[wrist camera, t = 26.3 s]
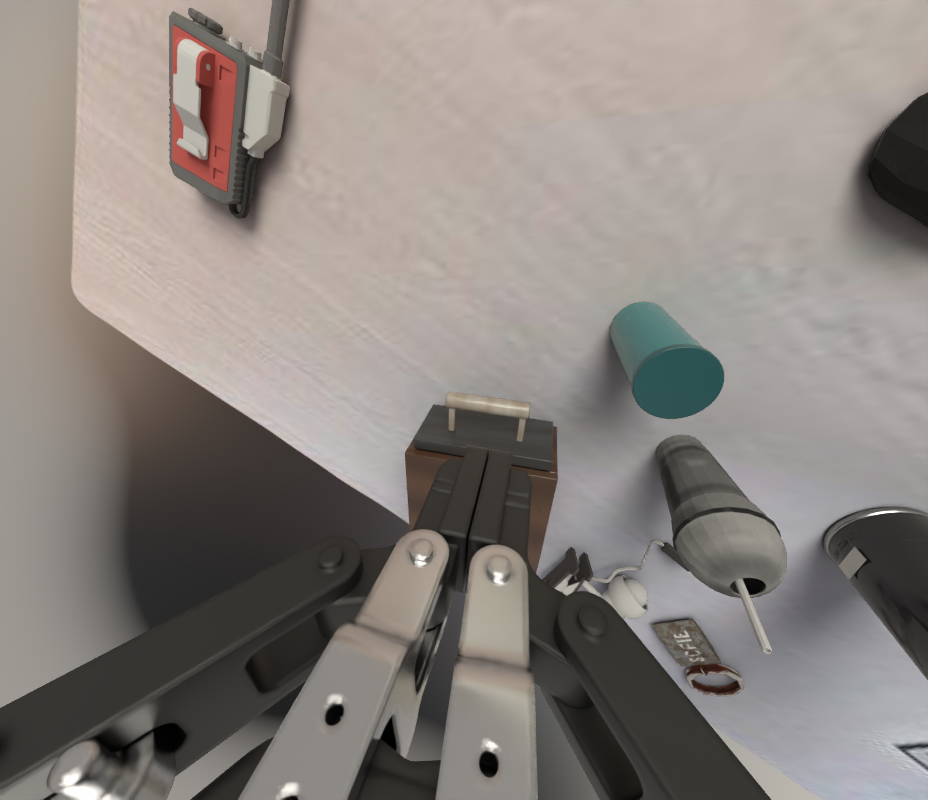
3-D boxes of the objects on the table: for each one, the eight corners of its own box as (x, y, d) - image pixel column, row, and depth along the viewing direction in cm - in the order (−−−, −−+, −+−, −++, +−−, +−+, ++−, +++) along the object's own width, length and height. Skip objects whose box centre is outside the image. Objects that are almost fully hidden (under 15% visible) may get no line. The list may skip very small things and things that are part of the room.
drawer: (433, 370, 38) (411, 401, 32) (559, 387, 36) (561, 423, 30) (434, 495, 47) (417, 536, 42) (534, 514, 45) (531, 561, 39)
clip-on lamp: (635, 499, 45) (533, 570, 50) (654, 530, 39) (535, 607, 44) (693, 557, 46) (587, 621, 52) (720, 596, 40) (597, 663, 46)
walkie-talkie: (271, 230, 35) (315, -46, 25) (238, 233, 31) (272, -91, 21) (192, 184, 35) (202, -119, 24) (148, 181, 31) (137, -179, 20)
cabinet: (431, 408, 42) (404, 453, 34) (556, 426, 39) (557, 479, 32) (432, 501, 50) (411, 554, 42) (536, 522, 47) (533, 582, 40)
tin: (616, 298, 31) (646, 342, 21) (678, 303, 30) (739, 351, 20) (603, 351, 34) (623, 413, 24) (659, 358, 33) (705, 424, 23)
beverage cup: (684, 487, 39) (784, 703, 22) (627, 459, 39) (685, 656, 22) (735, 444, 35) (904, 665, 19) (673, 412, 35) (786, 607, 18)
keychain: (702, 613, 49) (708, 627, 47) (747, 684, 54) (754, 699, 53) (646, 620, 52) (649, 634, 50) (693, 686, 58) (698, 701, 56)
